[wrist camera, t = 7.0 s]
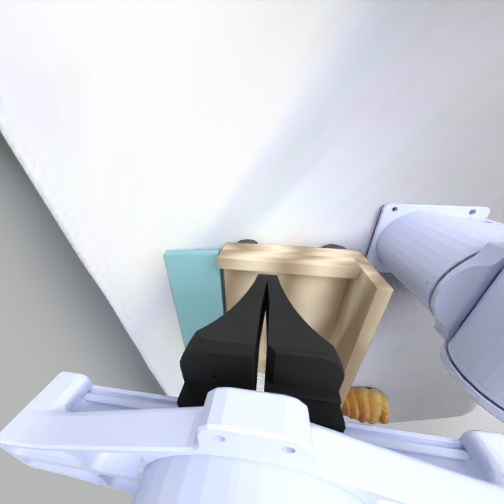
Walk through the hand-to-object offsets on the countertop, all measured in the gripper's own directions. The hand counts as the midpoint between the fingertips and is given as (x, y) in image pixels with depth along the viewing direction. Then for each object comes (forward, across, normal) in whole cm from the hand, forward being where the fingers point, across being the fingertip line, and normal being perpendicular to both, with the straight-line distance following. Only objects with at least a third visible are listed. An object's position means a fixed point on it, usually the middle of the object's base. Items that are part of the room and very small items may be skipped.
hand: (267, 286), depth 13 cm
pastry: (+11, -18, +31) cm, 38 cm away
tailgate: (+7, +6, +10) cm, 14 cm away
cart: (+10, -2, +10) cm, 15 cm away
